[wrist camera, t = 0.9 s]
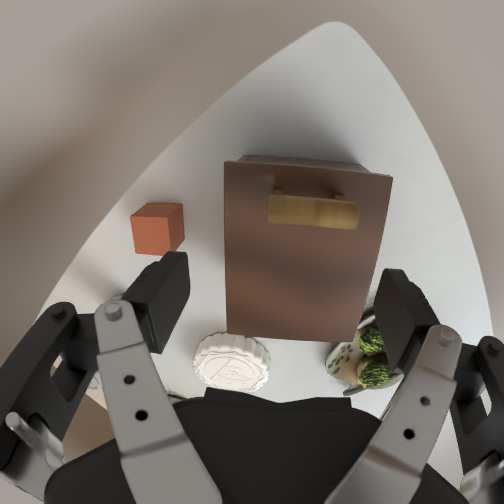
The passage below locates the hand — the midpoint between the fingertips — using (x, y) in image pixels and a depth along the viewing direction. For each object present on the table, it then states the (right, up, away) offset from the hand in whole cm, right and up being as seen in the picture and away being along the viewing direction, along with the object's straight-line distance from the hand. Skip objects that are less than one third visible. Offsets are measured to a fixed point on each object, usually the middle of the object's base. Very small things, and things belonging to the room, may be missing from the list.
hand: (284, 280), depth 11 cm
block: (-12, +5, +23) cm, 26 cm away
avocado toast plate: (+20, -14, +28) cm, 37 cm away
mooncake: (-4, -16, +32) cm, 36 cm away
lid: (+3, 0, +13) cm, 13 cm away
